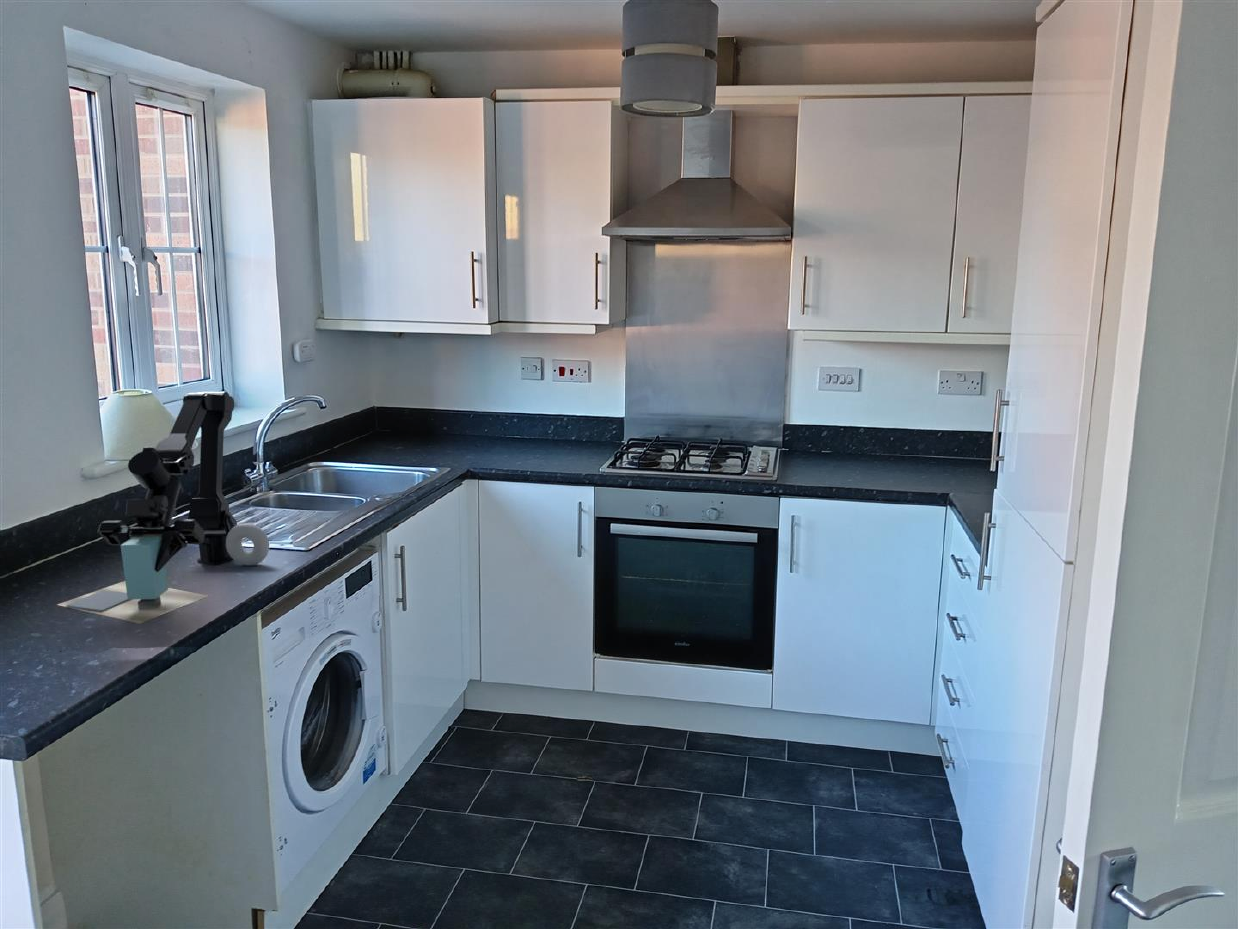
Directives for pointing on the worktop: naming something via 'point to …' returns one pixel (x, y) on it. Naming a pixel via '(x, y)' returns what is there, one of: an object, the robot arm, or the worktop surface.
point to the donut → (255, 536)
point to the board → (132, 604)
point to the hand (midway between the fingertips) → (141, 571)
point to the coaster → (100, 601)
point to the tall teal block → (143, 568)
